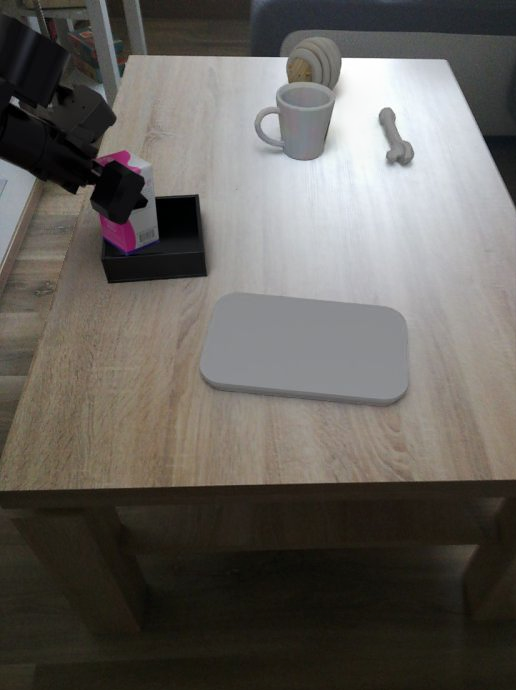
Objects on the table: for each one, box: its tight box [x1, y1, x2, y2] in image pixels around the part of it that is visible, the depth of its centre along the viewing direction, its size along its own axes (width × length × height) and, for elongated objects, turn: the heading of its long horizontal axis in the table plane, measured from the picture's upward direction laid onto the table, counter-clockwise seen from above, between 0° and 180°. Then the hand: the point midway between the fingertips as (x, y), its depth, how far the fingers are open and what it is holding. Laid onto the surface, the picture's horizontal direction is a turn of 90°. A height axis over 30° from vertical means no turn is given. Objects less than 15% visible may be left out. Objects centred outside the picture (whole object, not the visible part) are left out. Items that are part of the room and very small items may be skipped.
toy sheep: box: [285, 36, 343, 92], centre depth 113 cm, size 11×17×11 cm, turn 150°
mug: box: [253, 82, 336, 161], centre depth 100 cm, size 10×15×10 cm
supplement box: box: [91, 149, 159, 255], centre depth 76 cm, size 6×6×12 cm
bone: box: [378, 106, 415, 166], centre depth 106 cm, size 18×5×4 cm, turn 0°
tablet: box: [198, 291, 409, 407], centre depth 73 cm, size 16×26×2 cm, turn 85°
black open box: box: [100, 193, 208, 285], centre depth 84 cm, size 14×14×4 cm
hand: (129, 193), depth 75 cm, fingers open, 7 cm apart
